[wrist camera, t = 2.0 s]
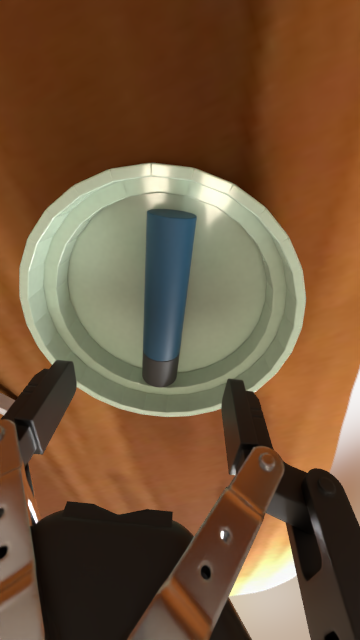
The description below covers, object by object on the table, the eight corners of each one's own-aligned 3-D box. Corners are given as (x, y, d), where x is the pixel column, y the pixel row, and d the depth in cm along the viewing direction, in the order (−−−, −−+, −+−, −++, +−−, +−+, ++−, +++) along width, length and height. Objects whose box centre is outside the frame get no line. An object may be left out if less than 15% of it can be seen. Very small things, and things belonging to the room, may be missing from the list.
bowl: (29, 148, 16) (-22, 142, 12) (322, 182, 17) (361, 186, 13) (68, 370, 26) (46, 404, 22) (250, 389, 26) (260, 427, 23)
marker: (150, 206, 17) (143, 214, 15) (196, 212, 17) (197, 220, 15) (144, 361, 25) (139, 386, 22) (177, 365, 25) (175, 389, 22)
